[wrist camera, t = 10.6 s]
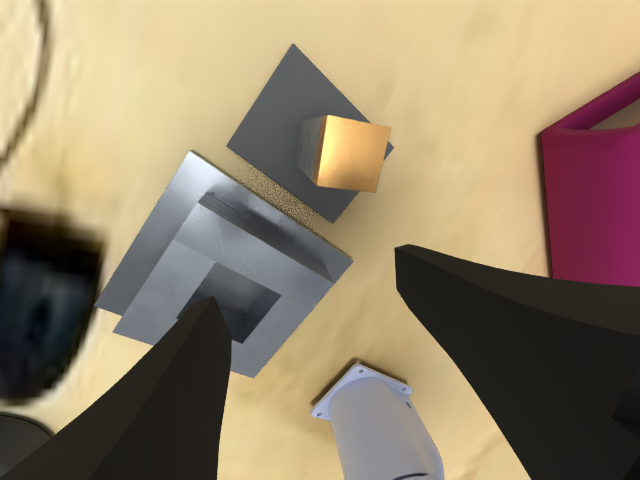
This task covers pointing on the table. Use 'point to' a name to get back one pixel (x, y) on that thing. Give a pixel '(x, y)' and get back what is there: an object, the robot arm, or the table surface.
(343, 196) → the mat
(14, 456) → the smart speaker
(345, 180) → the orange and grey block
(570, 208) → the book
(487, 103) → the table surface
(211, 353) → the robot arm
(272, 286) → the block
